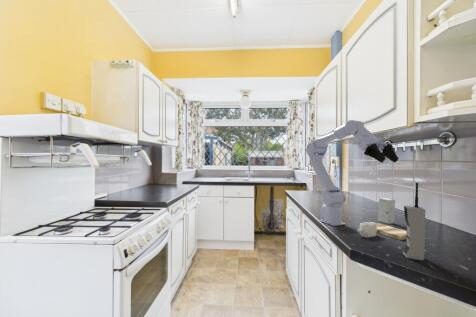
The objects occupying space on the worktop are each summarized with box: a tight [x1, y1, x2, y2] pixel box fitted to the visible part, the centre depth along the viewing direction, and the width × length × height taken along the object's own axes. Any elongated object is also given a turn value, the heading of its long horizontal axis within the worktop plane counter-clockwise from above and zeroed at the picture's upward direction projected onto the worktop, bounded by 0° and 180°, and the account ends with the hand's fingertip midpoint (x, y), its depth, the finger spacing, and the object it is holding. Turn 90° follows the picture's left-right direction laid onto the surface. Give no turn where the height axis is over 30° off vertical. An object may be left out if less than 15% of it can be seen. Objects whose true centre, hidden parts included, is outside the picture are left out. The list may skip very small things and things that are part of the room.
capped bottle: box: [356, 221, 378, 238], centre depth 100 cm, size 4×10×5 cm, turn 114°
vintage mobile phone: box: [402, 182, 426, 261], centre depth 78 cm, size 4×5×25 cm
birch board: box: [377, 222, 407, 241], centre depth 104 cm, size 16×10×2 cm, turn 24°
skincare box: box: [377, 197, 396, 225], centre depth 121 cm, size 6×4×12 cm
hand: (390, 160), depth 92 cm, fingers open, 7 cm apart
